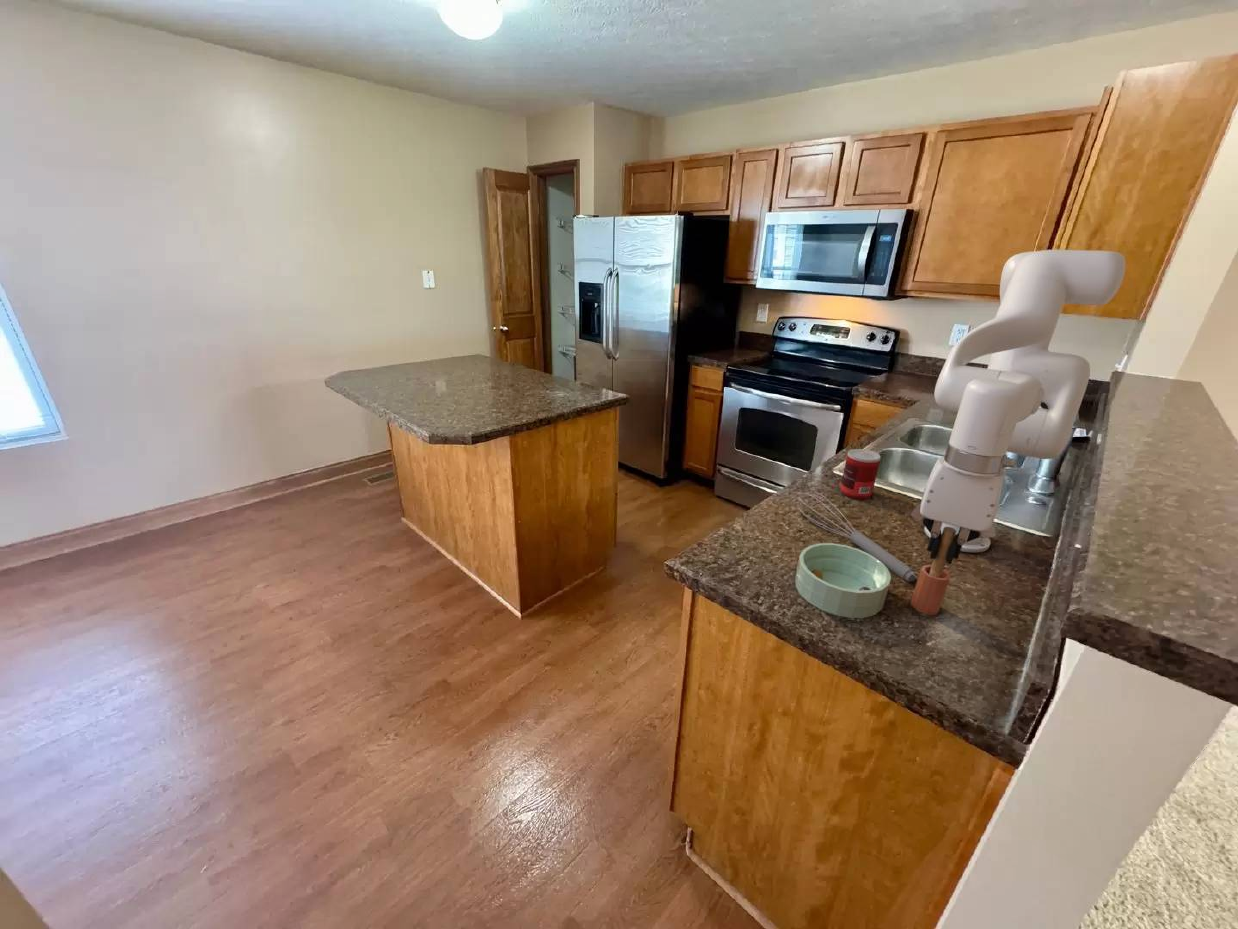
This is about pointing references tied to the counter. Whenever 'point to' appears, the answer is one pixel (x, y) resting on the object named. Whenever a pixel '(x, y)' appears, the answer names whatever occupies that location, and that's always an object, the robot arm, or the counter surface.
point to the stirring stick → (942, 552)
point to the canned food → (860, 473)
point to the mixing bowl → (842, 580)
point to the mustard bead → (817, 573)
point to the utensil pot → (930, 591)
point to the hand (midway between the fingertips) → (940, 556)
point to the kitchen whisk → (870, 547)
